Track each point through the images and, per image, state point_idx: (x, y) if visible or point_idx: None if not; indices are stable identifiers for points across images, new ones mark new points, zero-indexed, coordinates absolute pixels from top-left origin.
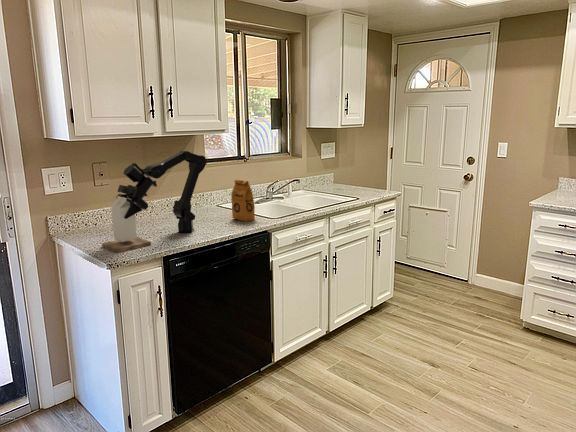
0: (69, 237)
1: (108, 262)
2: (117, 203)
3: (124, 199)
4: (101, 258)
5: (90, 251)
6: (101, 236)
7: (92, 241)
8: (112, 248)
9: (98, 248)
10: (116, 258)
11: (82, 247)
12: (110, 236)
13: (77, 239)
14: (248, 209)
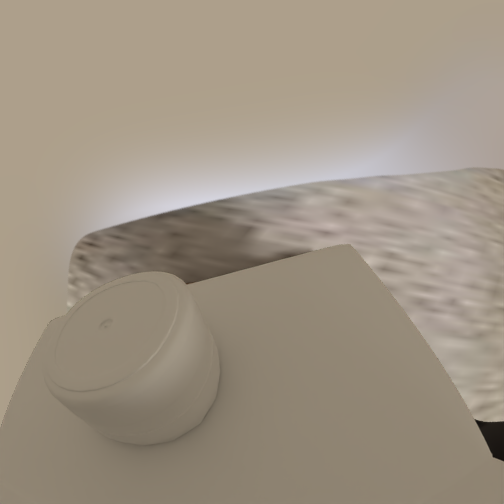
0: (494, 191)
1: (85, 238)
2: (74, 325)
3: (4, 497)
4: (137, 226)
5: (267, 205)
6: (482, 291)
7: (430, 244)
8: (193, 282)
9: (297, 242)
10: (101, 272)
11: (353, 191)
12: (469, 327)
13: (471, 204)
14: None
